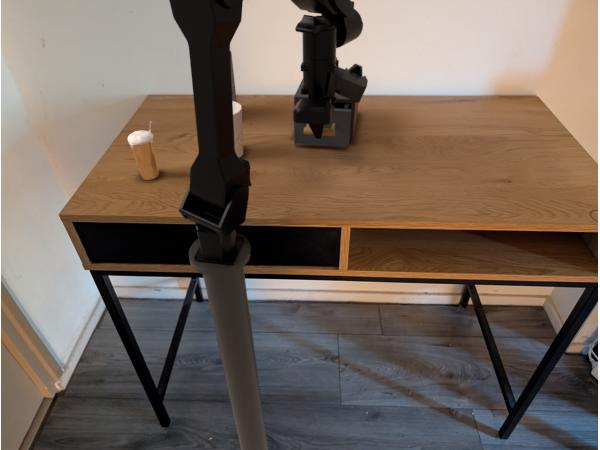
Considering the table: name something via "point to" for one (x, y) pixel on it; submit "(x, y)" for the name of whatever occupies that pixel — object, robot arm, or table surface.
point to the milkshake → (144, 153)
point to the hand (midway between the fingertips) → (318, 137)
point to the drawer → (328, 129)
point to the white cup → (238, 128)
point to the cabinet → (339, 100)
